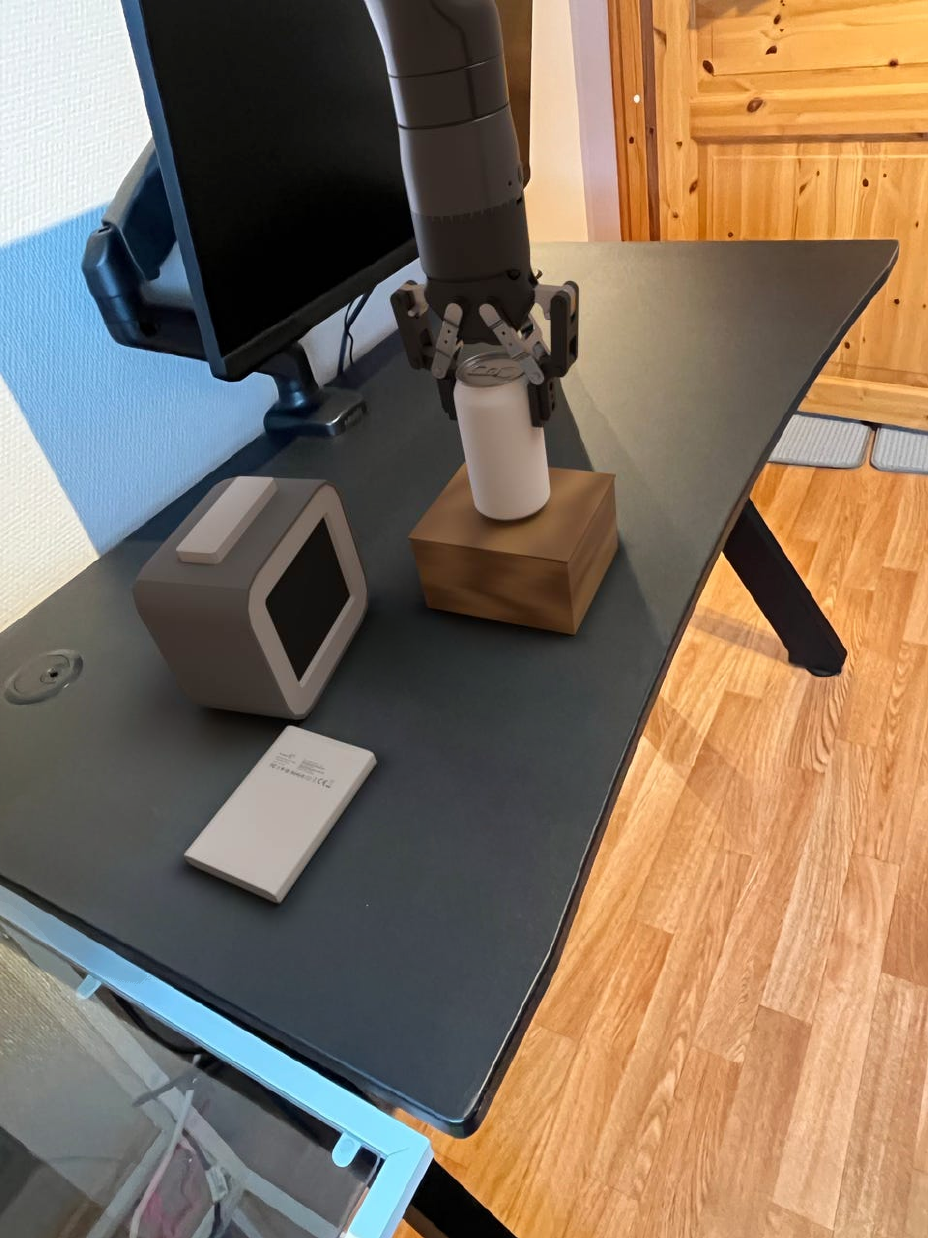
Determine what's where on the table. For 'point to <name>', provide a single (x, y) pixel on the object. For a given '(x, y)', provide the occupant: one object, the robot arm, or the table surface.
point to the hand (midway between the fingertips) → (500, 418)
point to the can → (500, 437)
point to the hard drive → (281, 812)
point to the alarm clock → (257, 595)
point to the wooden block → (519, 553)
